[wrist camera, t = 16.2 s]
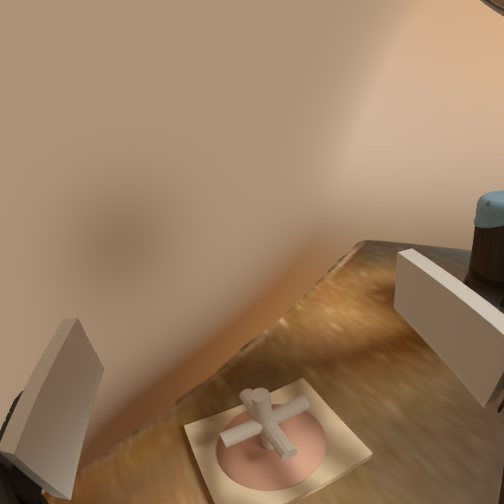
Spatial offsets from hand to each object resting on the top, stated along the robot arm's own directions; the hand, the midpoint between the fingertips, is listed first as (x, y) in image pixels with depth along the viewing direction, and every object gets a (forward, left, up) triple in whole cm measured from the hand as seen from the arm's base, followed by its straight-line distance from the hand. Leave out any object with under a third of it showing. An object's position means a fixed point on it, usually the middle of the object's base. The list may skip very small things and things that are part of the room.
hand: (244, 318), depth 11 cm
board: (-3, -9, -28) cm, 29 cm away
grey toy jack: (-3, -9, -26) cm, 28 cm away
